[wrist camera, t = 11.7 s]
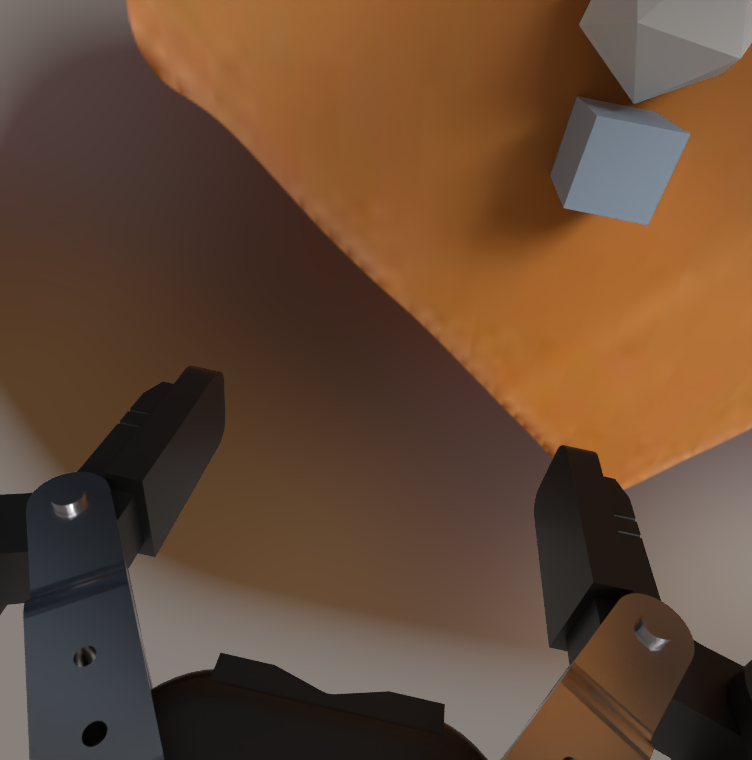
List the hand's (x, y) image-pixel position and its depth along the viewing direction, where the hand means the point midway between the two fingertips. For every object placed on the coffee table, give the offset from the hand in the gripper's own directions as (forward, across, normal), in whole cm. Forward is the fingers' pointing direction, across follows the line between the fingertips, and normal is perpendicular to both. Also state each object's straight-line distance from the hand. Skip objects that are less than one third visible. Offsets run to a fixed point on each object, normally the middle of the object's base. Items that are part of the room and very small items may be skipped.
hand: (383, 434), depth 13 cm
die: (+25, -10, -5) cm, 28 cm away
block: (+30, -10, -2) cm, 32 cm away
